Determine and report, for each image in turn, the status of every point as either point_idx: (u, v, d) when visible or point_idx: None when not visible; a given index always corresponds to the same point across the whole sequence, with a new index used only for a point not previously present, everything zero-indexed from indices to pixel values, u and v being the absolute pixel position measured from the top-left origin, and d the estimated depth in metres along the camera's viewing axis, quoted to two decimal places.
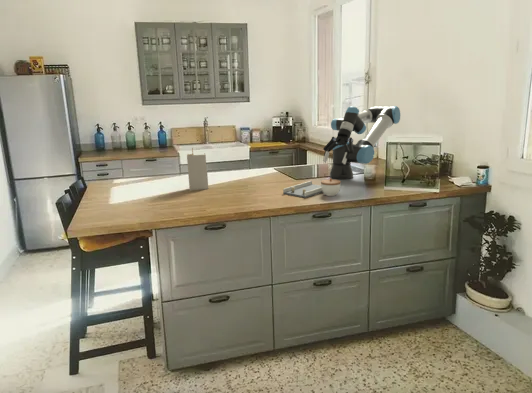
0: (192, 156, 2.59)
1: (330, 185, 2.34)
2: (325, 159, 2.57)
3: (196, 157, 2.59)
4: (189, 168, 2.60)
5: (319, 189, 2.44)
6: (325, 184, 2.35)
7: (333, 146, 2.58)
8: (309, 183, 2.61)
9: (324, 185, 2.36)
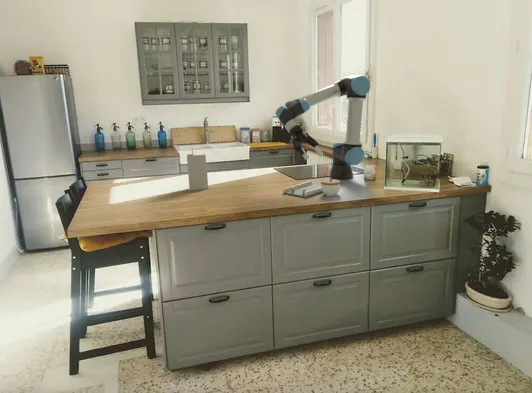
0: (192, 156, 2.58)
1: (330, 185, 2.34)
2: (320, 154, 2.47)
3: (196, 157, 2.59)
4: (189, 168, 2.60)
5: (319, 189, 2.44)
6: (325, 184, 2.35)
7: (309, 142, 2.49)
8: (309, 183, 2.61)
9: (324, 185, 2.36)
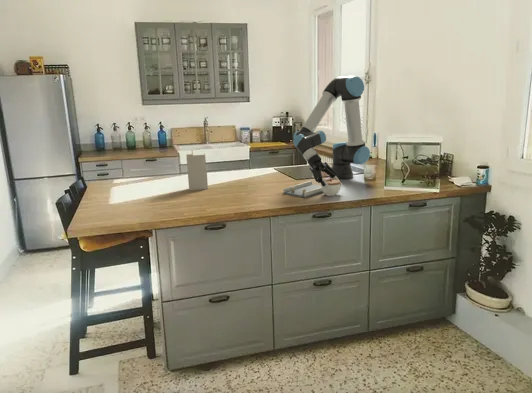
0: (192, 156, 2.58)
1: (330, 185, 2.34)
2: None
3: (196, 157, 2.59)
4: (189, 168, 2.60)
5: (319, 189, 2.44)
6: None
7: (327, 172, 2.43)
8: (309, 183, 2.61)
9: None
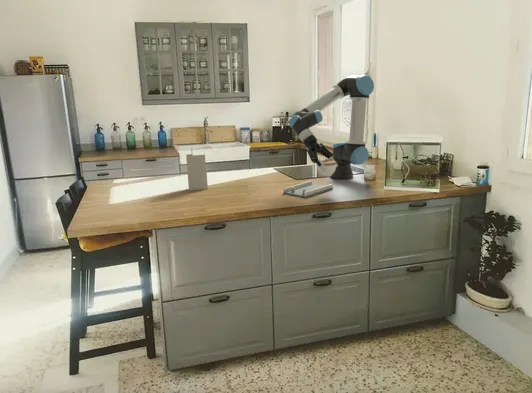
0: (191, 156, 2.58)
1: (326, 165, 2.35)
2: None
3: (195, 157, 2.59)
4: (188, 168, 2.59)
5: (319, 189, 2.44)
6: None
7: (323, 152, 2.44)
8: (309, 183, 2.61)
9: None
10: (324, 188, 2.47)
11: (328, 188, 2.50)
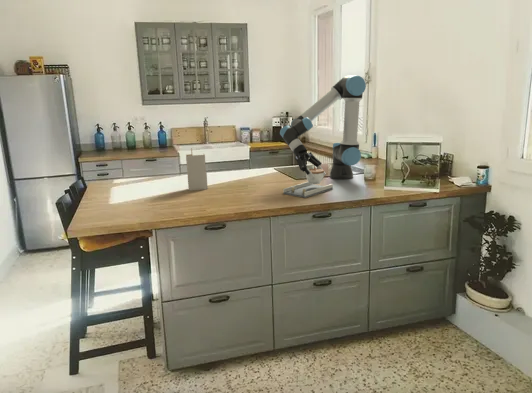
0: (191, 156, 2.58)
1: (314, 173, 2.47)
2: None
3: (195, 157, 2.59)
4: (188, 168, 2.59)
5: (319, 189, 2.44)
6: None
7: (312, 161, 2.57)
8: (309, 183, 2.61)
9: None
10: (324, 188, 2.47)
11: (328, 188, 2.50)
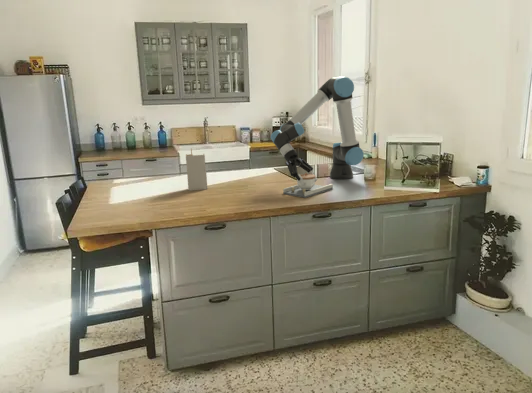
0: (191, 156, 2.58)
1: (305, 179, 2.42)
2: None
3: (195, 157, 2.58)
4: (188, 168, 2.59)
5: (319, 189, 2.44)
6: None
7: (303, 167, 2.51)
8: None
9: None
10: (324, 188, 2.47)
11: (328, 188, 2.50)
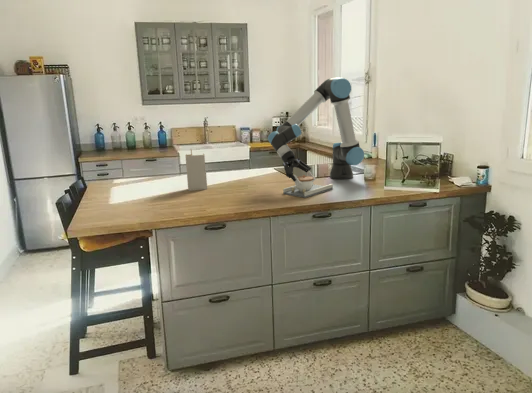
0: (191, 156, 2.58)
1: (303, 181, 2.40)
2: None
3: (195, 157, 2.58)
4: (188, 168, 2.59)
5: (319, 189, 2.44)
6: None
7: (301, 167, 2.50)
8: None
9: None
10: (324, 188, 2.47)
11: (328, 188, 2.50)
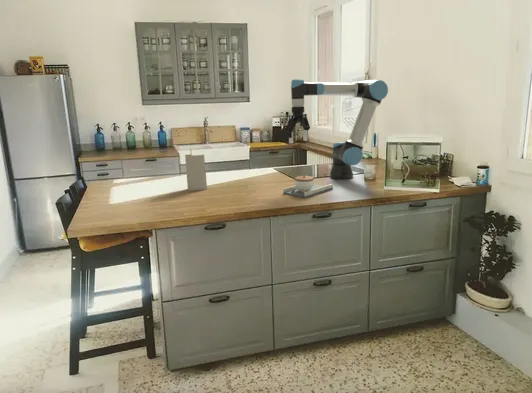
0: (191, 156, 2.57)
1: (303, 181, 2.40)
2: (304, 138, 2.64)
3: (195, 157, 2.58)
4: (188, 168, 2.59)
5: (319, 189, 2.44)
6: (298, 180, 2.41)
7: (302, 124, 2.61)
8: None
9: (297, 181, 2.42)
10: (324, 188, 2.47)
11: (328, 188, 2.50)
